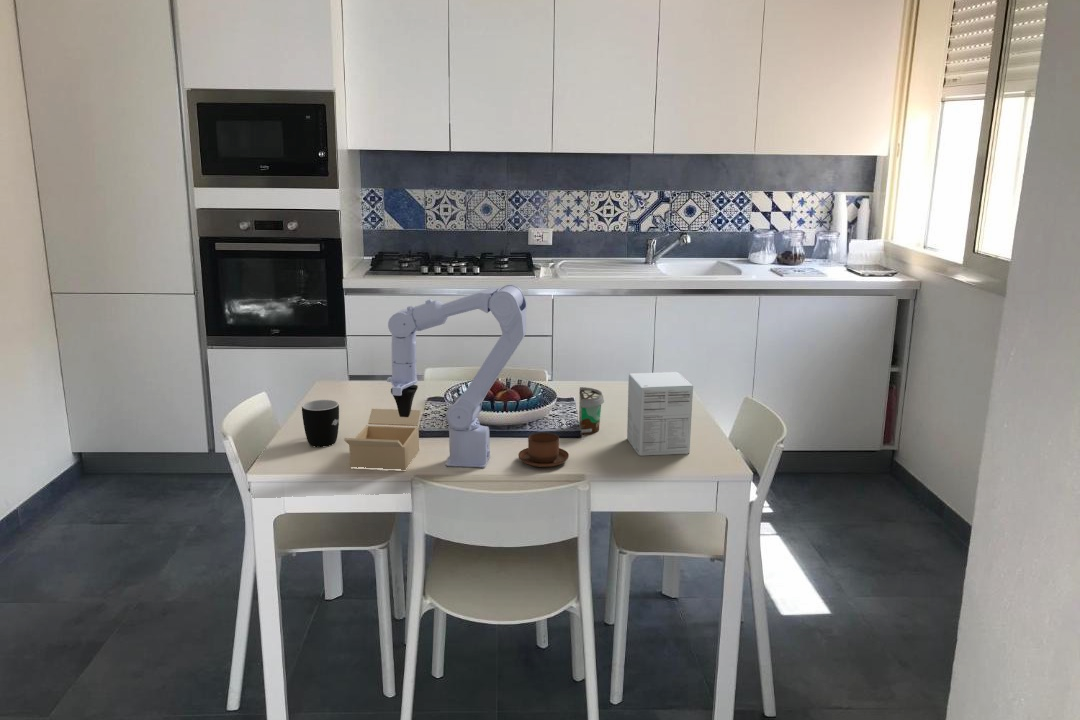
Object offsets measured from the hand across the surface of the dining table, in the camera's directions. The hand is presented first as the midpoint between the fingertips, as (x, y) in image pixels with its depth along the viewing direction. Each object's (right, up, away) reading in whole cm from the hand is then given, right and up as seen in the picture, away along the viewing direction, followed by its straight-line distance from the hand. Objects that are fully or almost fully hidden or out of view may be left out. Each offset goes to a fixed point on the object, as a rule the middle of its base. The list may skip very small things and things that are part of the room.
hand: (404, 416), depth 214 cm
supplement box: (+62, -8, +11) cm, 63 cm away
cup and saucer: (+33, -11, 0) cm, 35 cm away
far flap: (-4, -1, +8) cm, 9 cm away
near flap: (-6, -5, -10) cm, 12 cm away
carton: (-5, -10, +1) cm, 12 cm away
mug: (-22, -7, +13) cm, 27 cm away
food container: (+46, -5, +23) cm, 52 cm away
